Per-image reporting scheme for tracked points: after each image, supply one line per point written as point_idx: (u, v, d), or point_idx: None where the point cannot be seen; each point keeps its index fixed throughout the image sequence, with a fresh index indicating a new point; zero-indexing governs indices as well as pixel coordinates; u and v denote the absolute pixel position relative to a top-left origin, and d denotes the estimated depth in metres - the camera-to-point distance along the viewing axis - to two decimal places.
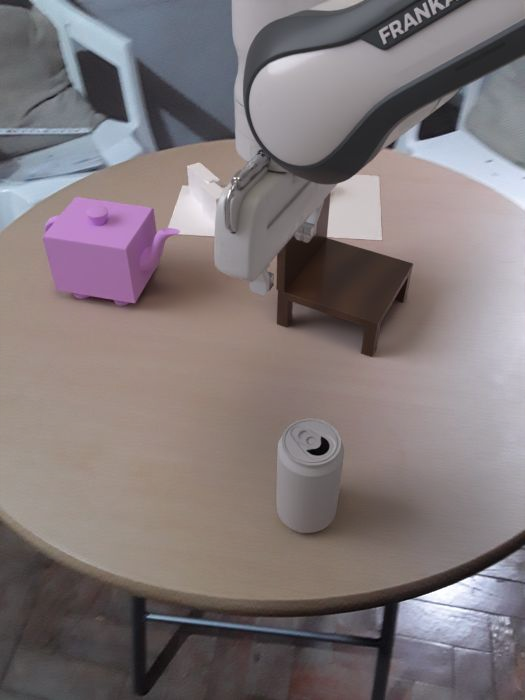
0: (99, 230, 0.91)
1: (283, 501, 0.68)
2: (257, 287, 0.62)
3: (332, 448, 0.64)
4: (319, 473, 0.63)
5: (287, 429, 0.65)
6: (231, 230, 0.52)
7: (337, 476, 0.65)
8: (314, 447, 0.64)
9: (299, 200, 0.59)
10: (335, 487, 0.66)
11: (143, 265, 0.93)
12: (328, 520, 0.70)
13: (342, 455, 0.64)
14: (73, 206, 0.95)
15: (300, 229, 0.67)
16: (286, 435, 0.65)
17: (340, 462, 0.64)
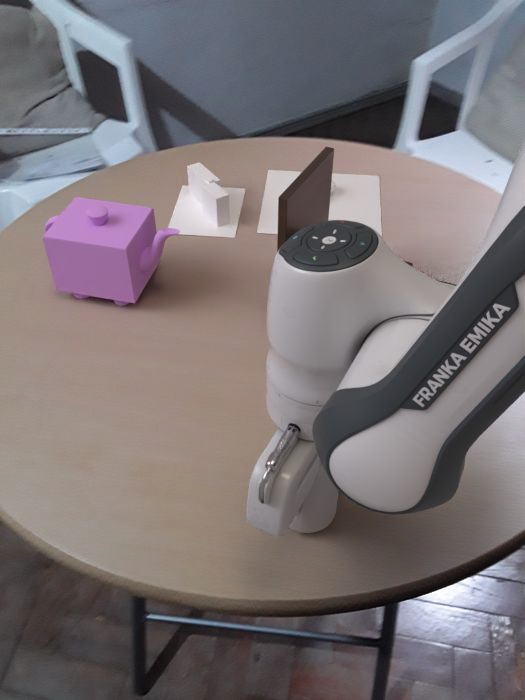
0: (99, 230, 0.91)
1: None
2: None
3: None
4: (318, 473, 0.63)
5: None
6: (264, 503, 0.56)
7: None
8: None
9: None
10: (335, 487, 0.66)
11: (143, 265, 0.93)
12: (328, 520, 0.70)
13: None
14: (73, 206, 0.95)
15: None
16: None
17: None
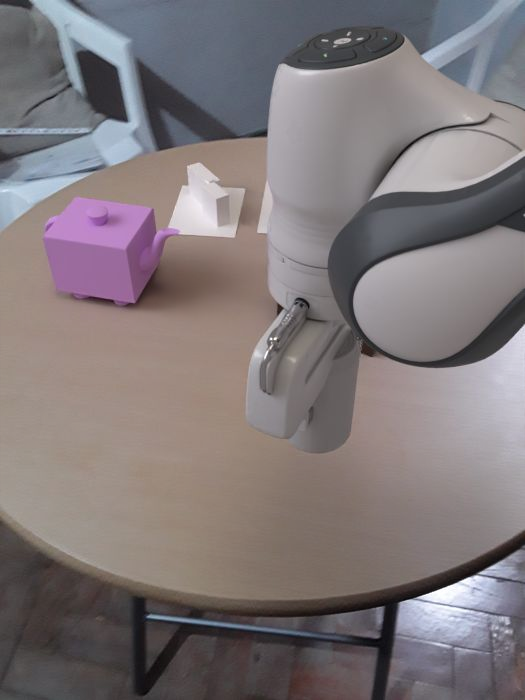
0: (99, 230, 0.91)
1: None
2: None
3: (347, 344, 0.54)
4: (331, 372, 0.53)
5: None
6: (266, 392, 0.46)
7: (352, 379, 0.55)
8: None
9: (339, 338, 0.52)
10: (350, 394, 0.56)
11: (143, 265, 0.93)
12: (342, 438, 0.60)
13: (358, 353, 0.55)
14: (73, 206, 0.95)
15: None
16: None
17: (356, 361, 0.54)
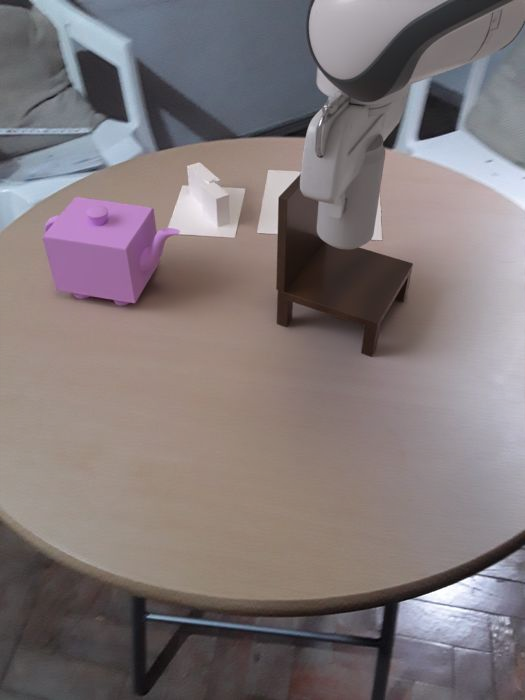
0: (99, 230, 0.91)
1: None
2: (333, 210, 0.70)
3: (375, 143, 0.68)
4: (363, 163, 0.67)
5: None
6: (320, 154, 0.60)
7: (379, 175, 0.69)
8: None
9: (371, 134, 0.66)
10: (376, 190, 0.70)
11: (143, 265, 0.93)
12: (367, 235, 0.74)
13: (384, 152, 0.68)
14: (73, 206, 0.95)
15: None
16: None
17: (382, 157, 0.68)
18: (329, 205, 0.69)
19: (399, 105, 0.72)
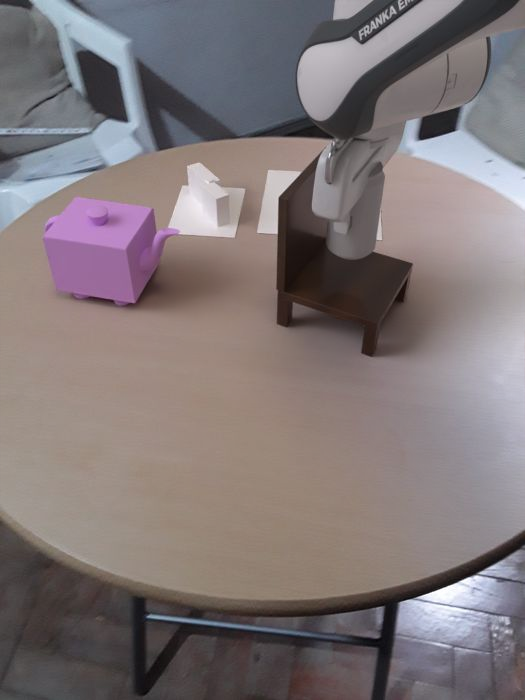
0: (99, 230, 0.91)
1: None
2: (340, 227, 0.81)
3: (376, 170, 0.79)
4: (366, 186, 0.79)
5: None
6: (328, 181, 0.71)
7: (379, 196, 0.81)
8: None
9: (372, 163, 0.78)
10: (377, 209, 0.82)
11: (143, 265, 0.93)
12: (370, 247, 0.85)
13: (383, 177, 0.80)
14: (73, 206, 0.95)
15: None
16: None
17: (382, 181, 0.80)
18: (337, 222, 0.81)
19: (397, 136, 0.84)
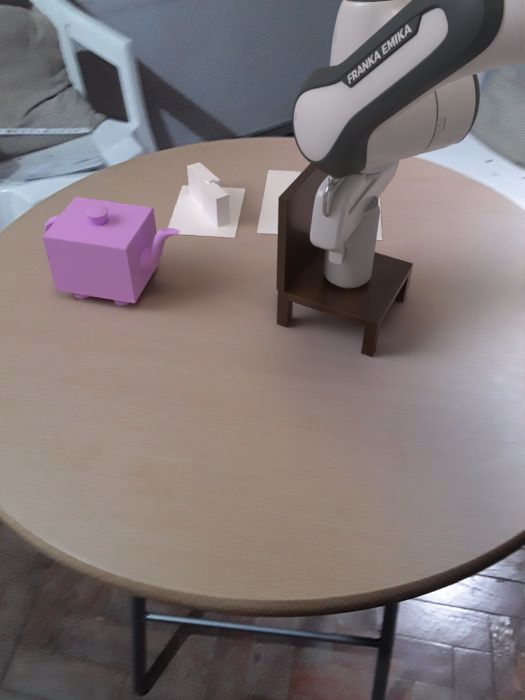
0: (99, 230, 0.91)
1: None
2: (334, 258, 0.84)
3: (372, 204, 0.83)
4: (362, 221, 0.82)
5: None
6: (326, 214, 0.74)
7: (375, 229, 0.84)
8: None
9: (368, 193, 0.81)
10: (373, 241, 0.85)
11: (143, 265, 0.93)
12: (366, 277, 0.89)
13: (379, 211, 0.83)
14: (73, 206, 0.95)
15: None
16: None
17: (377, 215, 0.83)
18: (331, 253, 0.83)
19: (393, 165, 0.87)
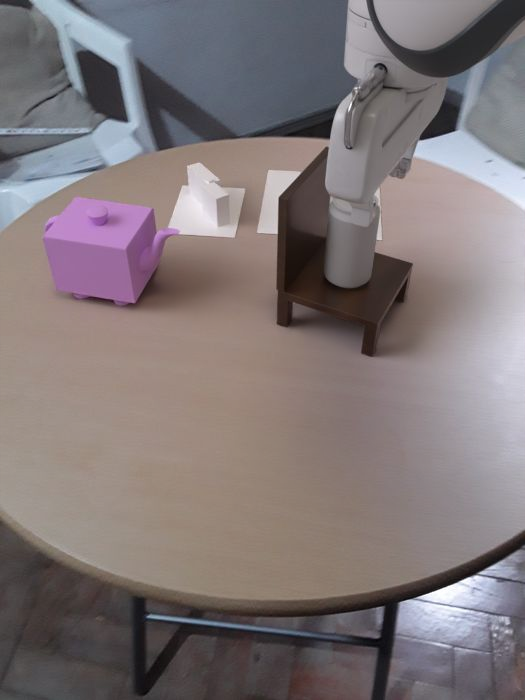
0: (99, 230, 0.91)
1: (332, 257, 0.87)
2: (359, 217, 0.60)
3: None
4: None
5: None
6: (349, 145, 0.51)
7: (375, 229, 0.84)
8: None
9: (407, 124, 0.57)
10: (373, 242, 0.85)
11: (143, 265, 0.93)
12: (366, 277, 0.89)
13: (379, 211, 0.83)
14: (73, 206, 0.95)
15: (395, 164, 0.66)
16: None
17: (377, 215, 0.83)
18: (355, 211, 0.60)
19: (439, 93, 0.63)
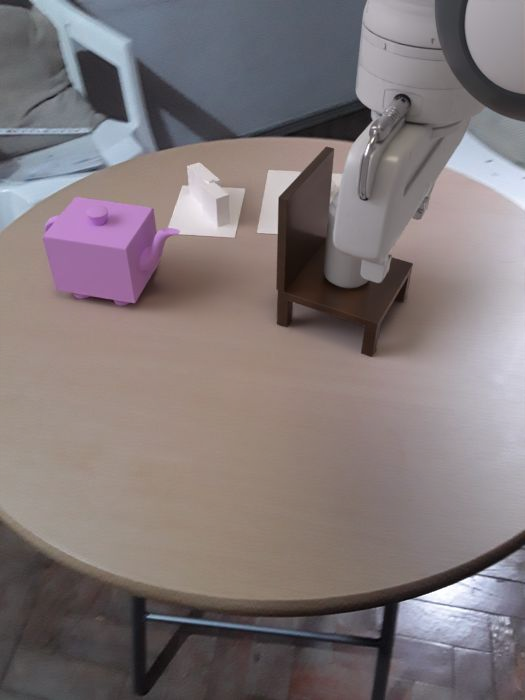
0: (99, 230, 0.91)
1: (332, 257, 0.87)
2: (371, 272, 0.50)
3: None
4: None
5: (336, 194, 0.84)
6: (364, 196, 0.41)
7: None
8: None
9: (430, 163, 0.47)
10: None
11: (143, 265, 0.93)
12: None
13: None
14: (73, 206, 0.95)
15: None
16: (335, 197, 0.84)
17: None
18: (366, 265, 0.50)
19: (463, 121, 0.54)
